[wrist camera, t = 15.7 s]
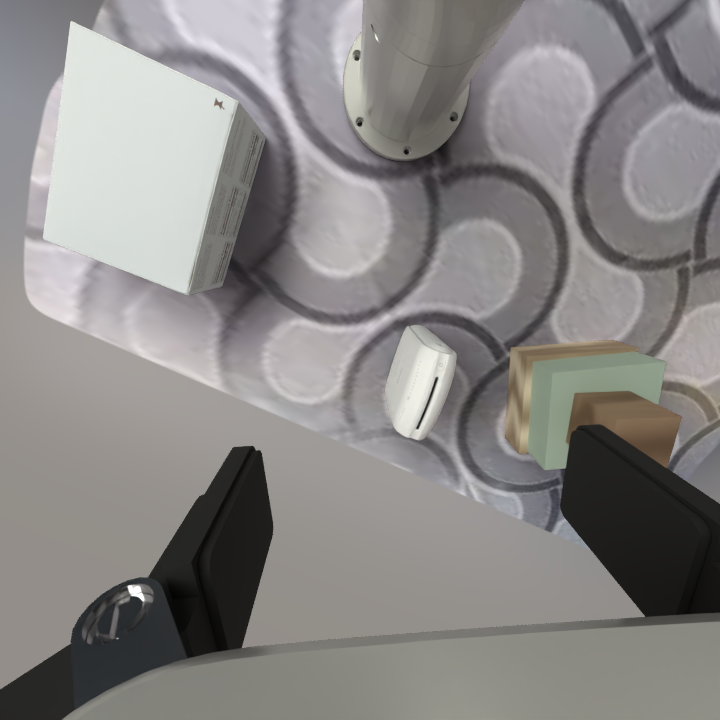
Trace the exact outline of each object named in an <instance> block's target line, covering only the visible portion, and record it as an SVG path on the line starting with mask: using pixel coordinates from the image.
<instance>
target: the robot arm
mask: <svg viewBox="0 0 720 720" xmlns="http://www.w3.org/2000/svg"><path fill="white" fill-rule="evenodd" d="M523 2H524V0H363V14H362V31H361V32H360V33H359V35H358V36H357V38H356V40H355V41H354V43H353V45H352V47H351V49H350V52H349V54H348V57H347V60H346V64H345V69H344V75H343V98H344V105H345V109H346V114H347V117H348V119H349V121H350V124H351V126H352V128H353V130H354V131H355V133H356V135H357V136H358V138H359V139H360V140H361V141H362V142H363V143H364V144H365V145H366V147H368V148H369V149H370V150H372V151H373V152H374V153H376V154H378V155H380V156H382V157H384V158H386V159H390V160H395V161H411V160H416V159H420V158H422V157H425V156H427V155H429V154H431V153H432V152H434V151H435V150H437V149H438V148H440V147H441V146H442V145H443V144H444V143H445V142H446V141H447V140H448V139H449V137H450V136H451V135H452V133H453V132H454V131H455V129H456V128H457V126H458V124H459V123H460V121H461V119H462V116H463V113H464V111H465V108H466V105H467V100H468V95H469V82H470V81H471V79H472V78H473V77H474V75H475V74H476V72H477V71H478V69H479V68H480V66H481V65H482V64H483V62H484V61H485V59H486V58H487V56H488V55H489V54H490V52H491V51H492V49H493V48H494V46H495V45H496V43H497V42H498V41H499V39H500V38H501V36H502V35H503V33H504V32H505V30H506V29H507V27H508V26H509V24H510V23H511V21H512V20H513V18H514V17H515V15H516V14H517V12H518V11H519V9H520V7H521V5H522V4H523ZM355 58H358V59H359V60H358V61H356V60H354V59H355ZM450 118H453V120H454V121H453V122H451V120H450ZM359 122H360V123H362V126H361V127H359V126H358V125H357V124H358V123H359ZM405 150H407V151H408V154H407V155H405V154H404V151H405ZM560 507H561V511H562V514H563V516H564V517H565V519H566V520H567V521H568V522H569V524H570V525H571V526H572V527H573V529H574V530H575V531H576V532H577V533H578V535H579V536H580V537H581V538H582V540H583V541H584V542H585V543H586V544H587V546H588V547H589V548H590V549H591V551H593V553H594V554H595V555H596V556H597V558H598V559H599V560H600V562H601V563H602V564H603V565H604V566H605V568H606V569H607V570H608V571H609V573H610V574H611V575H612V576H613V577H614V579H615V580H616V581H617V582H618V584H620V586H621V587H622V588H623V590H624V591H625V592H626V593H627V595H628V596H629V597H630V598H631V599H632V601H633V602H634V603H635V604H636V605H637V607H638V608H639V609H640V610H641V612H642V613H643V614H644V615H645V617H638V618H622V619H606V620H590V621H576V622H562V623H546V624H532V625H517V626H503V627H489V628H475V629H462V630H461V629H460V630H446V631H433V632H420V633H407V634H395V635H382V636H381V635H380V636H368V637H354V638H341V639H328V640H317V641H307V642H296V643H286V644H275V645H265V646H255V647H247V648H242V645H243V641H244V637H245V634H246V630H247V626H248V623H249V619H250V616H251V612H252V608H253V605H254V601H255V597H256V594H257V590H258V586H259V583H260V579H261V576H262V572H263V568H264V565H265V561H266V557H267V554H268V550H269V547H270V543H271V539H272V535H273V520H272V515H271V508H270V501H269V496H268V489H267V483H266V477H265V471H264V465H263V458H262V453H261V451H260V450H258V451H256V450H255V448H254V447H253V446H244V447H233V448H232V450H231V452H230V453H229V455H228V456H227V458H226V460H225V462H224V463H223V465H222V466H221V468H220V469H219V471H218V473H217V475H216V476H215V478H214V479H213V481H212V483H211V485H210V486H209V488H208V489H207V491H206V493H205V494H204V495H201V496H199V498H198V499H197V500H196V501H195V503H194V505H193V506H192V508H191V509H190V511H189V513H188V514H187V516H186V517H185V519H184V521H183V522H182V524H181V526H180V527H179V529H178V530H177V532H176V533H175V535H174V537H173V538H172V540H171V541H170V543H169V545H168V546H167V548H166V549H165V551H164V553H163V554H162V556H161V558H160V559H159V561H158V562H157V564H156V565H155V567H154V569H153V570H152V572H151V573H150V575H149V577H146V578H145V577H139V578H135V579H131V580H127V581H125V582H123V583H121V584H118V585H116V586H114V587H112V588H111V589H109V590H108V591H106V592H105V593H103V594H102V595H100V596H99V597H98V598H97V599H96V600H95V601H94V602H92V603H91V604H90V605H89V606H88V607H87V609H86V610H85V611H84V612H83V613H82V614H81V616H80V617H79V619H78V620H77V622H76V624H75V626H74V628H73V631H72V636H71V644H70V645H68V646H66V647H65V648H63V649H62V650H60V651H59V652H57V653H56V654H54V655H53V656H51V657H50V658H48V659H47V660H45V661H43V662H42V663H40V664H39V665H37V666H36V667H34V668H33V669H31V670H30V671H28V672H27V673H25V674H23V675H22V676H20V677H19V678H17V679H16V680H14V681H13V682H11V683H10V684H8V685H7V686H5V687H3V688H2V689H0V720H720V504H719V503H717V502H716V501H715V500H713V499H711V498H710V497H709V496H707V495H706V494H704V493H703V492H701V491H700V490H698V489H697V488H695V487H694V486H692V485H691V484H689V483H688V482H686V481H685V480H683V479H682V478H680V477H679V476H677V475H676V474H675V473H673V472H672V471H670V470H669V469H667V468H666V467H664V466H663V465H661V464H660V463H658V462H657V461H655V460H654V459H652V458H651V457H649V456H648V455H646V454H645V453H643V452H642V451H640V450H639V449H637V448H636V447H634V446H633V445H631V444H630V443H628V442H627V441H626V440H624V439H623V438H621V437H620V436H618V435H617V434H615V433H614V432H612V431H611V430H609V429H608V428H606V427H605V426H603V425H601V424H593V425H580V426H578V427H577V428H576V430H575V431H573V432H572V433H571V436H570V443H569V449H568V456H567V463H566V469H565V476H564V483H563V489H562V496H561V503H560Z"/></svg>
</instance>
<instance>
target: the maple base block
mask: <svg viewBox="0 0 720 720" xmlns="http://www.w3.org/2000/svg"><path fill="white" fill-rule="evenodd" d="M635 351H636V352H638V348H636V347H633V346H630V345H627V344H624V343H621V342H618V341H614V340H602V341H588V342H575V343H562V344H548V345H535V346H521V347H511V353H510V368H509V383H508V398H507V413H506V428H505V438H506V439H507V440H508V442H509V443H510V444H511V445H512V446H513V448H514V449H515V450H516V451H517V452H518V453H519V454H526V453H528V451H527V448H528V432H529V416H530V400H531V384H532V368H533V362H534V361H544V360H554V359H564V358H574V357H584V356H594V355H604V354H615V353H625V352H635Z"/></svg>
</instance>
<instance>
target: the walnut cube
mask: <svg viewBox="0 0 720 720" xmlns="http://www.w3.org/2000/svg"><path fill="white" fill-rule="evenodd" d="M681 418H682V416H679V415H677V414H675V413H673V412H671V411H669V410H667V409H665V408H663V407H661V406H659V405H657V404H655V403H653V402H651V401H649V400H647V399H645V398H643V397H641V396H639V395H637V394H635V393H633V392H631V391H615V392H585V393H575V394H574V399H573V405H572V410H571V416H570V421H569V427H568V432H567V437H566V443H567V444H568V445H569V443H570V436H571V433H572V432H573V431H575V430H576V428H577V427H578V426H580V425H593V424H601V425H603V426H605V427H606V428H608V429H609V430H611V431H612V432H614V433H615V434H617V435H618V436H620V437H621V438H623V439H624V440H626V441H627V442H628V443H630V444H631V445H633V446H634V447H636V448H637V449H639V450H640V451H642V452H643V453H645V454H646V455H648V456H649V457H651V458H652V459H654V460H655V461H657V462H658V463H660V464H661V465H663V466H664V467H666V468H667V466H668V463H669V459H670V456H671V453H672V449H673V446H674V442H675V439H676V435H677V432H678V429H679V425H680V422H681Z"/></svg>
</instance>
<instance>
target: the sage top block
mask: <svg viewBox="0 0 720 720" xmlns="http://www.w3.org/2000/svg"><path fill="white" fill-rule="evenodd" d="M665 365H666V362H665V361H662V360H659V359H656V358H653V357H650V356H647V355H645V354H642V353H639V352H636V351H635V352H625V353H615V354H604V355H594V356H584V357H574V358H564V359H554V360H544V361H534V362H533V368H532V384H531V400H530V416H529V432H528V448H527V451H528V453H529V454H530V455H531V456H532V457H533V458H534V459H535V460H536V461H537V462H538V464H539V465H540V466H541V467H542V468H543V469H544V470H553V469H563V468H566V463H567V456H568V449H569V445H568V444H567V443H566V437H567V432H568V427H569V421H570V416H571V410H572V405H573V399H574V394H575V393H585V392H615V391H631V392H633V393H635V394H637V395H639V396H641V397H643V398H645V399H647V400H649V401H651V402H653V403H655V404H657V405H658V403H659V398H660V392H661V387H662V382H663V376H664V371H665Z"/></svg>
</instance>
